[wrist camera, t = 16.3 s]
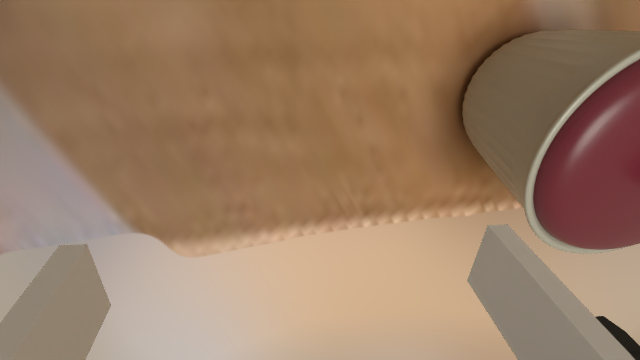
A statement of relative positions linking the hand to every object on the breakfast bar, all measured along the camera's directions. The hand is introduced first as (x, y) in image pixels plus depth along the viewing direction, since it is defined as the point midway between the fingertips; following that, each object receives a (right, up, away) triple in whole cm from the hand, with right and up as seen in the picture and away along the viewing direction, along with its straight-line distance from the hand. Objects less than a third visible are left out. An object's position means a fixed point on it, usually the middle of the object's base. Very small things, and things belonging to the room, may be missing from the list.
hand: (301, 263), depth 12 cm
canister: (+22, +13, +27) cm, 37 cm away
